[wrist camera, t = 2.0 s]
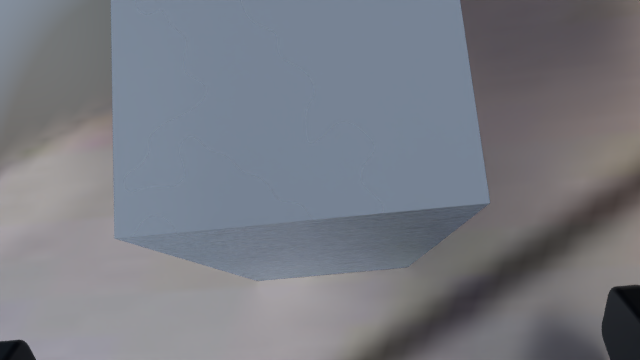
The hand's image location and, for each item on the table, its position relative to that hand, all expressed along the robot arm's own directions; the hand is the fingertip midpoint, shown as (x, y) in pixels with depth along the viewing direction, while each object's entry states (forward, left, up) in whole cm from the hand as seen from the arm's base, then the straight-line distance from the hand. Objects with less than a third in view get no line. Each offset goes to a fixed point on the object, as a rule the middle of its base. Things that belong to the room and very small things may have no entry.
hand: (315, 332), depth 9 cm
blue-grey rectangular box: (+4, +2, -11) cm, 11 cm away
